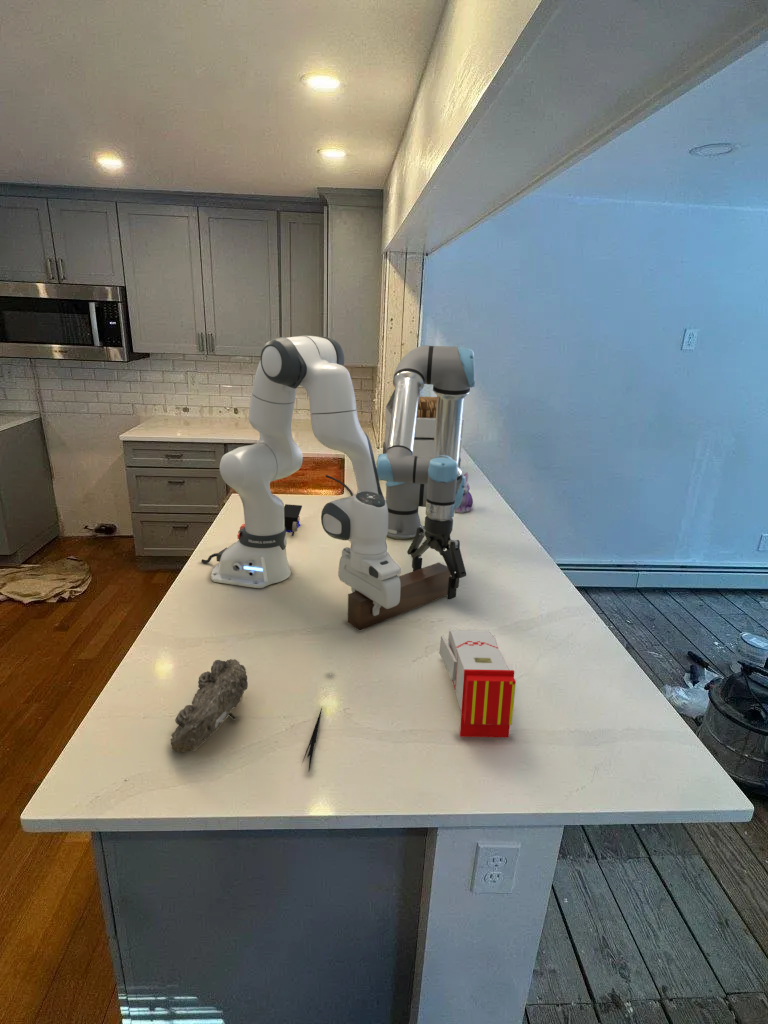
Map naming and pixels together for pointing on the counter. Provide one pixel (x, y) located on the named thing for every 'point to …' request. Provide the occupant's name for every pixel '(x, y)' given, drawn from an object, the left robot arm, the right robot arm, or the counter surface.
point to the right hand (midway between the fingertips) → (433, 588)
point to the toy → (479, 682)
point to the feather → (313, 740)
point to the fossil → (210, 704)
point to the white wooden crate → (419, 427)
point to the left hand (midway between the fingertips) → (366, 609)
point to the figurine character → (291, 517)
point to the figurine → (465, 498)
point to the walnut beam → (401, 596)
